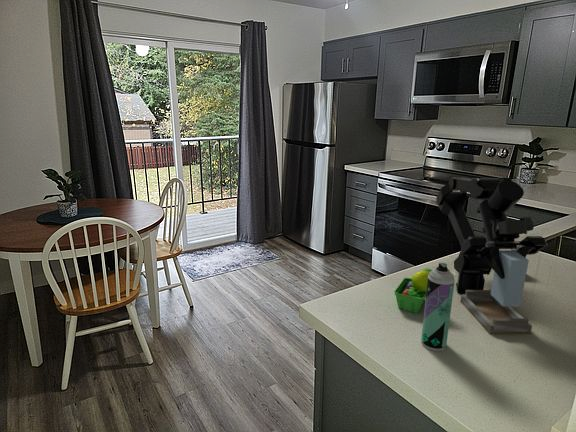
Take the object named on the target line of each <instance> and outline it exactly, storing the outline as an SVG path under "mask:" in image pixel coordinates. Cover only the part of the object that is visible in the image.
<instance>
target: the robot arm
mask: <svg viewBox="0 0 576 432" xmlns="http://www.w3.org/2000/svg"><path fill="white" fill-rule="evenodd" d="M453 190H454V191H453ZM468 193H469V194H468ZM524 193H525V192H524V189H523V187H522V186H521V185H520V184H518V182H515V181H513V180H512V178H511V177H510V176H509V177H505V176H504V177H502V178H498V177H491V178H490V177H489V178H488V177H475V178H468V177H465V176H460V177H459V176H453V177H451V178H450V179H449V181H448V182H447V183H446V184H444V185H443V186H442V187H441V188H440V189H439V190H438V193H437V196H436V198H435V202H436V205H437V206H438V209H440V212H441V213H444V214H445V215H446V216H448V218H449V221H450V223H451V225H452V228H453V230H454V234H455V235H456V239H457V242H458V243H459V245H460V251H459V254H458V255H457V257H456V258H455V259H454V261H453V269H454V270H455V271H456V272H457V273H458V274H457V275H458V276H457V282H456V285H455V286H456V292H457V294H458V295H459V294H461V295H465V290H485V283H486V282H485V281H486V278H485V276H484V275H487V276H488V275H490V273H491V271H492V270H493V272H494V271H495V272H496V273H497V275H498V276H499V277H500V278H501V279H504V278H505V275H504V270H503V267H502V264H501V260H500V257H499V249H501V250H514V251H516V252H517V253H519V254H520V255H522V256H523V257H525V258H526V259H527V256H528V255H529V256H531V255H536V254H538V253H540V252H541V251H542V250H544V249H545V248H547V246H548V243H547V241H546V238H545V237H543V236H541V235H531V236H530V235H527V234H528V232H529V231H533V230H534V221H533V220H532V217H529V216H528V217H525V216H524V217H521V218H519V219H518V220H513V219H512V218H508V215H507V212H509V211H510V210H511V209H512V208H513V207H514V206H515V205H516V204H517V203H518V202H519V201H520V200H521V199H523V196H524ZM469 196H470V197H471V198H472V199H474V200H482V202H481V203H479V205H478V207H477V208H476V213H477V214H480V216H481V217H480V218H481V221H482V223H483V227H482V228H481V230H482V233H485V234H486V237H485V236H483V235H481V236H479V235H477V236H476V234H475V232H474V230H473V228H472V225H471V223H470V221H469V219H468V217H467V214H466V212H465V209H464V208H465V206H466V202H467V201H468V198H469ZM523 234H524V235H527V236H526V237H525V238H523V239H521V240H517V239H519V238H521V236H520V235H523Z"/></svg>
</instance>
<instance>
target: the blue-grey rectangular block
mask: <svg viewBox="0 0 576 432" xmlns="http://www.w3.org/2000/svg"><path fill="white" fill-rule="evenodd" d="M499 257H500V260H501V264H502V267H503V270H504V275H505V278H504V279H501V278H500V277H499V276H498V275H497V273H496V272H495V271H494V270H493V278H492V283H491V289H490V290H491V295H492V296H493V297H494V298H495V299H496V300H497V301H498V302H499V303H500V304H501V305H502V306H511V307H521V302H522V297H523V292H524V288H525V287H524V286H525V281H526V276H527V271H528V267H529V266H528V265H529V263H530V262H529V261H530V260H529V259H528V258H527V257H526V258H525V257H523V256H522V255H520V254H519V253H517V252H516V251H514V250H511V249H501V251H499Z"/></svg>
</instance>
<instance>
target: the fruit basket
mask: <svg viewBox="0 0 576 432" xmlns="http://www.w3.org/2000/svg"><path fill="white" fill-rule="evenodd" d="M431 270H432V268H428V267H426V268H424V269H423V270H422V271H418V272H415V273H414V274H412V276H411V277H404V278H403V279H402V281H401V282H400V283H399V285H398V286H397V287H396V288H395V290H394V291H393V292H394V295H395V298H396V299H395V300H396V303H397V308H398V309H399V308H401V310H403V309H405V310H404V311H407V310H408V311H407V312H413V313H415V314H418V313H419V312H420V309H421V308H422V306H423V304H424V302H425V300H426V291H427V282H428V275H429V271H431ZM423 301H424V302H423Z"/></svg>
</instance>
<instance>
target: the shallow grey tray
mask: <svg viewBox="0 0 576 432" xmlns="http://www.w3.org/2000/svg"><path fill="white" fill-rule="evenodd" d="M460 303H461V305H463V307H465V309H466V310H467V311H468V312H469V313H470V314H471V315H472V317H473V318H474V319H475V320H476V321H477V322H478V323H479V324H480V325H481V327H483V329H484V330H485V331H486V332H487V333H488V334H489V335H501V334H502V335H518V334H519V335H525V334H527V335H529V334H530V335H531V332H532V329H533V325H532V324H531V323H530V320H529V319H528V318H527V317H526V318H525V317H523V316H522V315H521V314H520V313H518V312H517V310H516V309H514V307H513V306H502V305H501V304H500V303H499V302H498V301H497V300H496V299H495V298H494V297H493V296H492V295H491V289H484V290H465V294H461V295H460Z"/></svg>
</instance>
